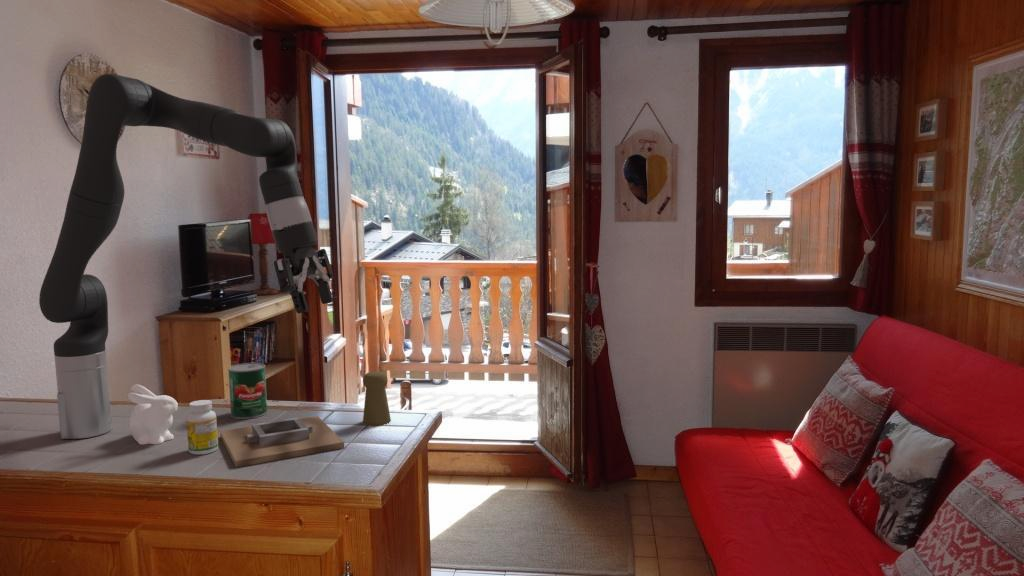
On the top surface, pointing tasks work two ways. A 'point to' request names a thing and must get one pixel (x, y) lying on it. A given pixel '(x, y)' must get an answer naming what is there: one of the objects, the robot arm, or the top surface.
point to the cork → (375, 399)
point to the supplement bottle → (202, 428)
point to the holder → (279, 440)
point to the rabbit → (151, 416)
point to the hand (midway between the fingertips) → (315, 307)
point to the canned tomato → (247, 390)
